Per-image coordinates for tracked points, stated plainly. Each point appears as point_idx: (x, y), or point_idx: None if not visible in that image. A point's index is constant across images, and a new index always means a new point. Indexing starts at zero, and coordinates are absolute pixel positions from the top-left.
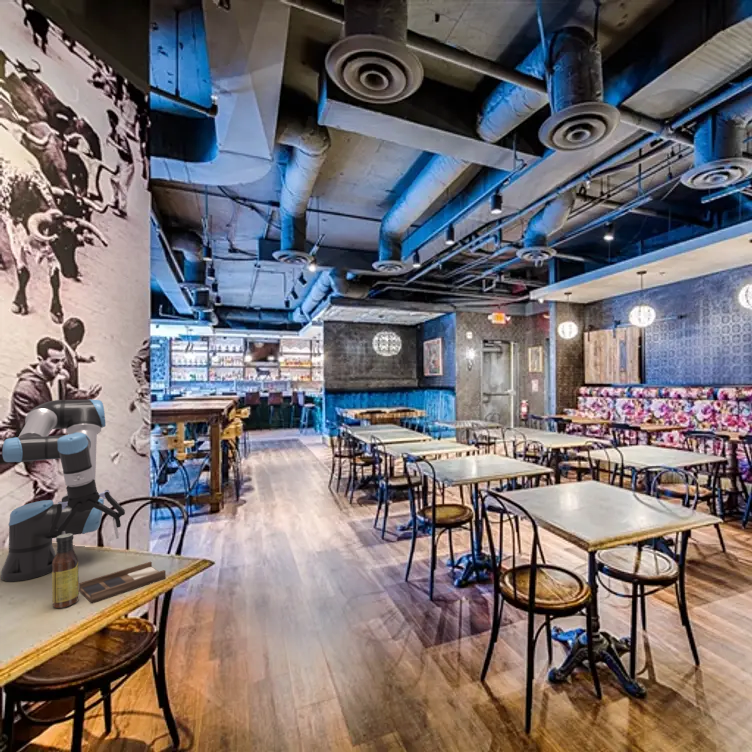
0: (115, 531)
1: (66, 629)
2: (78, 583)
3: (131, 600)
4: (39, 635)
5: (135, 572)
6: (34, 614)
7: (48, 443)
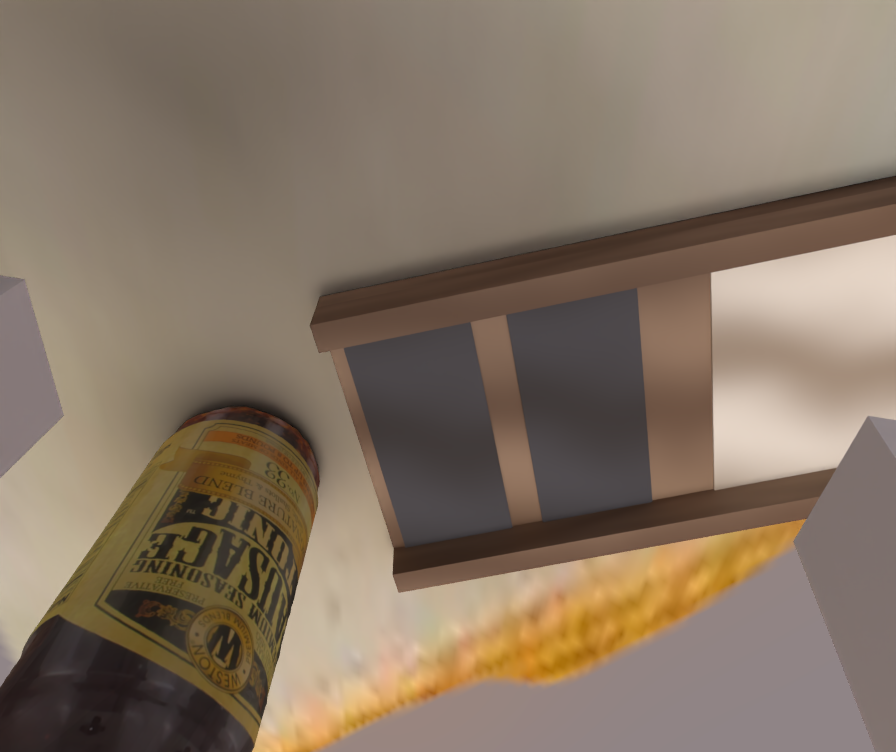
0: (866, 688)
1: (286, 725)
2: (302, 562)
3: (601, 625)
4: None
5: (777, 266)
6: (77, 498)
7: None
